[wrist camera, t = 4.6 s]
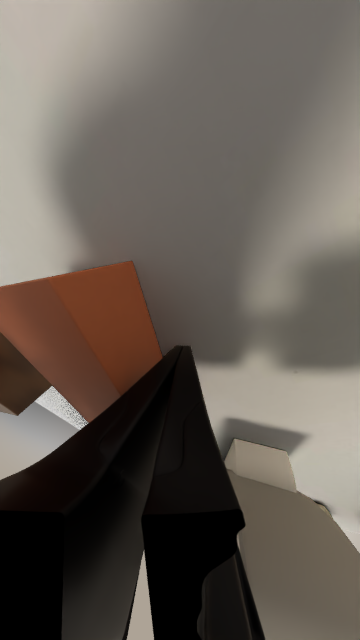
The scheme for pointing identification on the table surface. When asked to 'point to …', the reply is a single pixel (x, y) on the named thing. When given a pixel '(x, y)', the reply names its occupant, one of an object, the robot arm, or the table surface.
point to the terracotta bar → (83, 332)
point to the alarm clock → (292, 552)
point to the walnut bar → (18, 380)
